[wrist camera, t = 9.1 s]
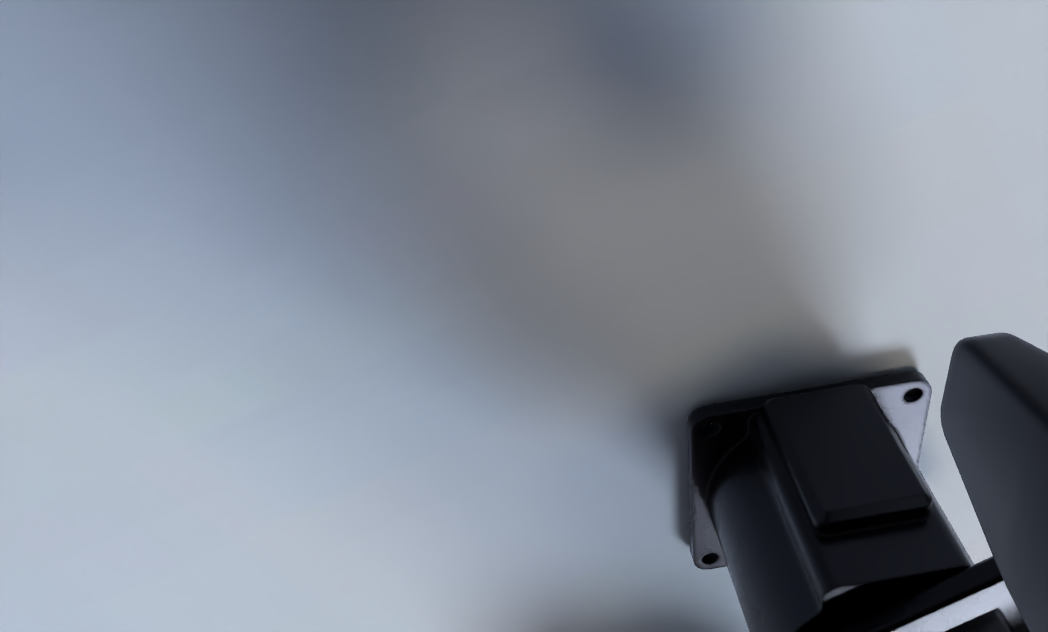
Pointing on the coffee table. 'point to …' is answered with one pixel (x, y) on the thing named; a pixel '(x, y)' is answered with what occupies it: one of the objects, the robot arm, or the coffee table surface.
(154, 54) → the coffee table surface
